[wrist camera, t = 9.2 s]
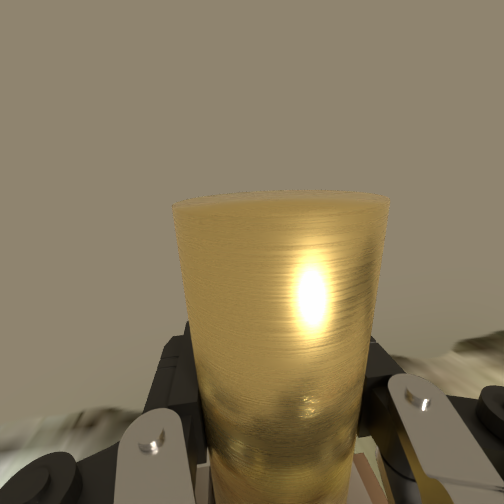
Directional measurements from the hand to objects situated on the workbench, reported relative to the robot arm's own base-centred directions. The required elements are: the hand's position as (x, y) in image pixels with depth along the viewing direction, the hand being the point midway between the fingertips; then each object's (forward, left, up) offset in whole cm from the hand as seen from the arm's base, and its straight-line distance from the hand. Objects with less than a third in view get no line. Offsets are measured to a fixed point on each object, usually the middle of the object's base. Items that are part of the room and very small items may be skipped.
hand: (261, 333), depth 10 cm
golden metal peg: (0, +3, -8) cm, 9 cm away
